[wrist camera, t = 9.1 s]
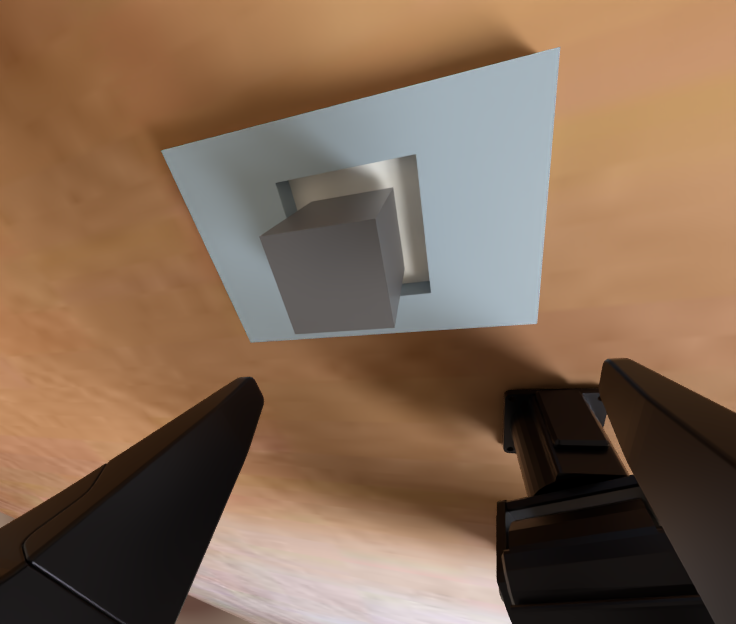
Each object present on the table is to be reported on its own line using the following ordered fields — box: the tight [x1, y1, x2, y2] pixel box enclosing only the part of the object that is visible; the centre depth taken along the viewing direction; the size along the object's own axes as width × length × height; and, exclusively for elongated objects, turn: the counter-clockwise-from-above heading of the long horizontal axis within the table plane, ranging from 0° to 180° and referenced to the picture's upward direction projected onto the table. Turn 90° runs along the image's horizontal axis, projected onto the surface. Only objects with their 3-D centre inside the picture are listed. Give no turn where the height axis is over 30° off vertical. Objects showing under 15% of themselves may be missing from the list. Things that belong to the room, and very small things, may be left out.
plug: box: [259, 187, 405, 334], centre depth 15 cm, size 4×4×7 cm
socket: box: [161, 47, 560, 343], centre depth 17 cm, size 12×18×2 cm, turn 101°
